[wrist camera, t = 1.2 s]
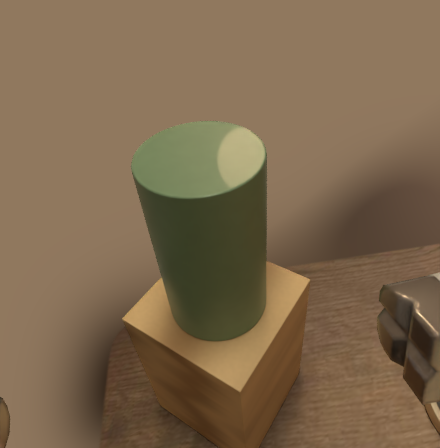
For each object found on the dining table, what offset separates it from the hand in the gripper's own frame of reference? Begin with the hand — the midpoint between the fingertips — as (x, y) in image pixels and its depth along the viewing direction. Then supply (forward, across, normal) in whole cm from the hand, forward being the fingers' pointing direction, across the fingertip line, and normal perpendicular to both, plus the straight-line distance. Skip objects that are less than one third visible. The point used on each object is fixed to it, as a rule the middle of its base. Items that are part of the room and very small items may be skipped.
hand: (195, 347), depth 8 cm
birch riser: (+15, -1, +21) cm, 26 cm away
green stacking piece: (+12, -1, +9) cm, 15 cm away
